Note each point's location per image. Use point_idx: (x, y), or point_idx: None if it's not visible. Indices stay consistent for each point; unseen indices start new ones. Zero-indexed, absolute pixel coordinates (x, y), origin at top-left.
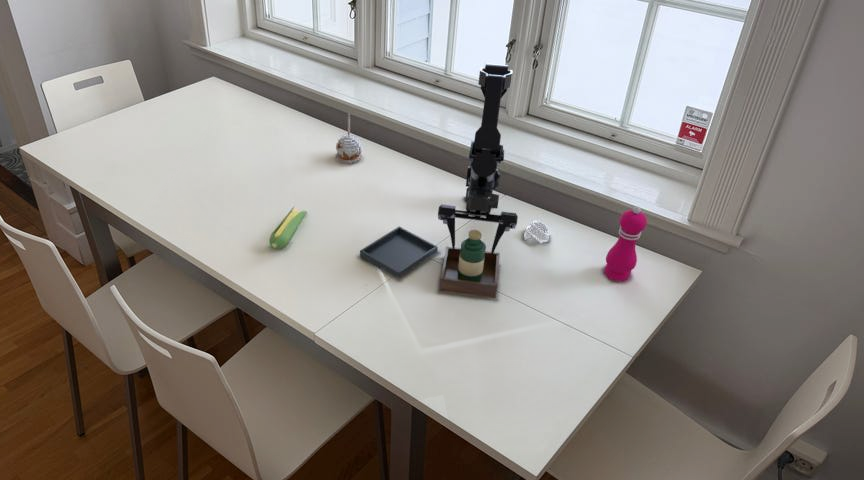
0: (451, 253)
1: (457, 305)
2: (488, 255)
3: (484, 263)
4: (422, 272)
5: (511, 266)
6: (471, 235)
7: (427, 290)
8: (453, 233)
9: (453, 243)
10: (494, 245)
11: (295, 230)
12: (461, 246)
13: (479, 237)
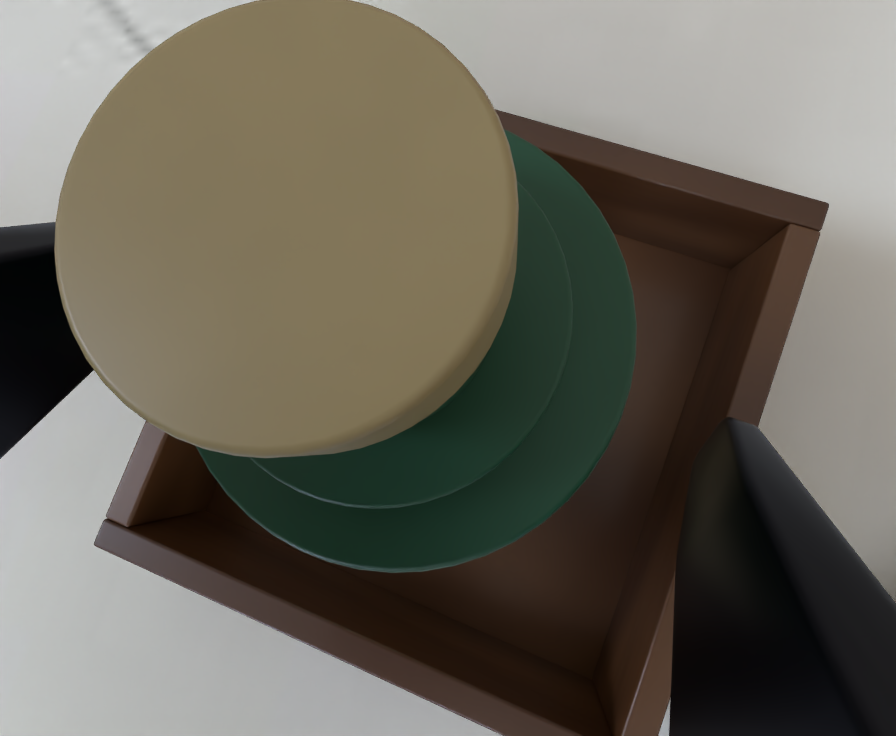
0: (569, 697)
1: (636, 102)
2: (214, 554)
3: (282, 544)
4: (857, 543)
5: (91, 495)
6: (453, 92)
7: (848, 294)
8: (879, 675)
9: (774, 477)
10: (30, 239)
11: None
12: (635, 337)
13: (208, 56)
